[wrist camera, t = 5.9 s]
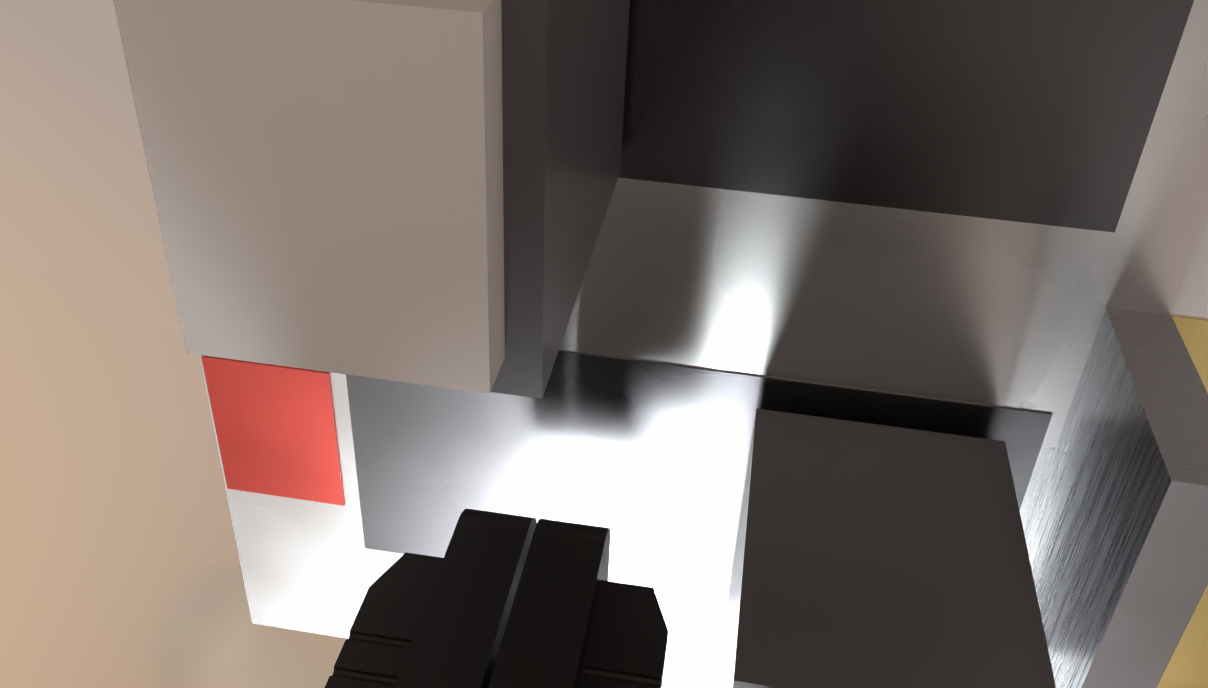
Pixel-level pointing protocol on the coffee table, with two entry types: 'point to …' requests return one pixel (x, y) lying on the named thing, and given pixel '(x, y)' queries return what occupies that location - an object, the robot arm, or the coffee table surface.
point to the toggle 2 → (879, 563)
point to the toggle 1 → (380, 177)
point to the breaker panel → (822, 322)
